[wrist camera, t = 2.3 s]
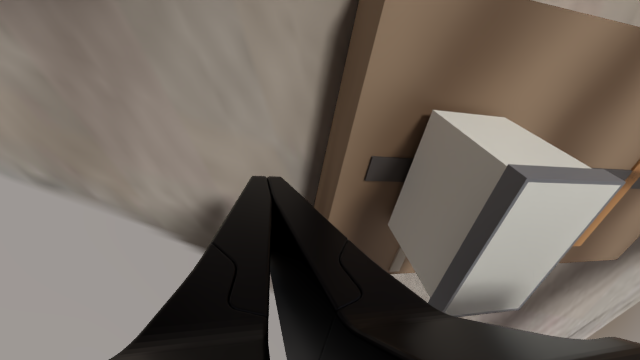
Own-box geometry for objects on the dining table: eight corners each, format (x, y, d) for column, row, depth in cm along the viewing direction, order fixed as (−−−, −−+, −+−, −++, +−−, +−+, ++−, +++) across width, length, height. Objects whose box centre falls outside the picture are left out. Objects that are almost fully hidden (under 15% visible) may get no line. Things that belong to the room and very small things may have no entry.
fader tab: (508, 115, 11) (626, 182, 8) (450, 225, 14) (518, 310, 11) (431, 106, 10) (527, 178, 7) (384, 226, 13) (437, 319, 10)
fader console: (744, 56, 15) (806, 68, 14) (588, 237, 22) (618, 260, 20) (366, -36, 10) (394, -34, 8) (304, 247, 16) (313, 280, 14)
